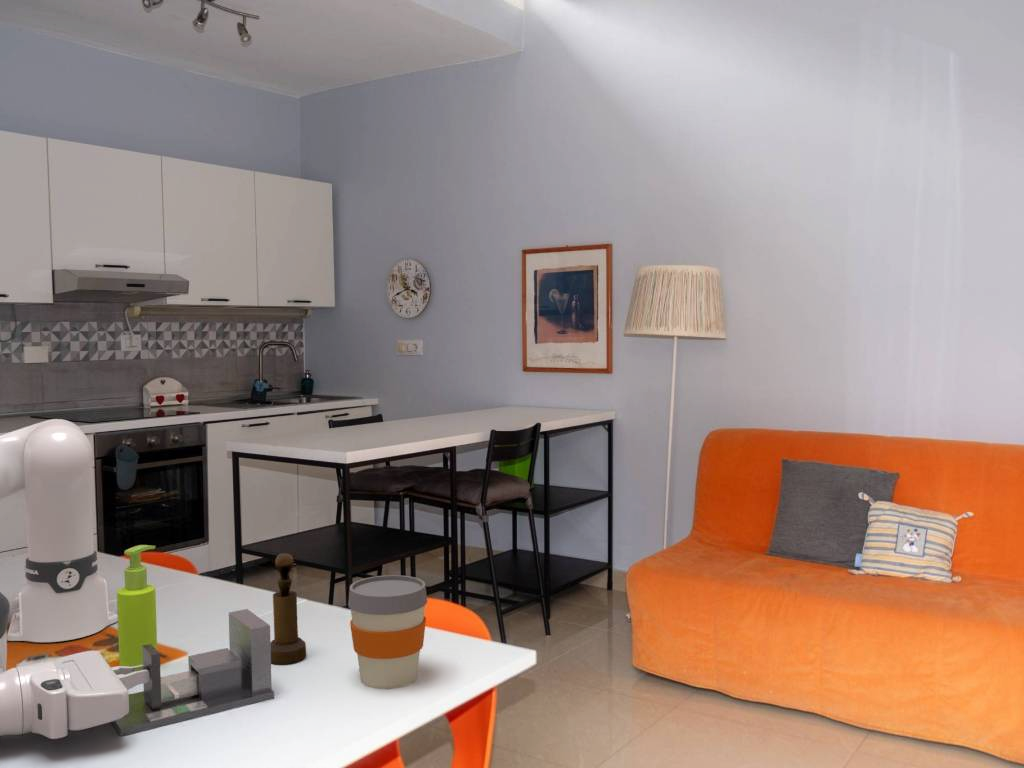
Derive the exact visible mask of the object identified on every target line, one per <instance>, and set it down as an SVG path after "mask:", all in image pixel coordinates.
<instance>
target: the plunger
mask: <svg viewBox="0 0 1024 768" xmlns="http://www.w3.org/2000/svg"><path fill="white" fill-rule="evenodd" d="M142 652H143V665H144V666H145V668H146V669H147V670H148V671H149V673H150V680H149V682H147V683H143V691H144V699H145V700H146V701H147V702H148V704H149V705H150V706H151V708H152V709H157V708H161V707H162V706H161V703H164V702H168V701H172V700H176V699H181V698H185V697H189V696H193V695H198V694H199V673H198V672H197V671H196V670H191V671H189V670H187V671H184V672H178V673H174V674H171V675H170V674H169V675H164V676H162V677H161V654H160V652H159V651H158V649H157V650H156V649H155V648H154V647H153V646H152V645H151V644H147V645H142Z"/></svg>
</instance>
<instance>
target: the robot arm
mask: <svg viewBox="0 0 1024 768" xmlns="http://www.w3.org/2000/svg"><path fill="white" fill-rule="evenodd" d="M93 454H94V453H93V446H92V444H91V442H90V440H89V438H88V437H87V435H86V434H85V433H84V431H83V430H82V428H80V427H79V426H78V425H77V424H75V423H74V422H73V421H69V420H66V419H62V418H59V419H58V418H51V419H46V420H44V421H40V422H37V423H34V424H31V425H28V426H24V427H21V428H19V429H16V430H13V431H10V432H7V433H5V434H2V435H1V434H0V502H2V501H4V500H6V499H8V498H11V497H13V496H15V495H17V494H19V493H22V492H24V491H25V492H24V493H25V496H24V497H25V517H26V535H27V536H26V541H27V543H26V544H27V558H26V559H25V565H24V571H25V579H26V581H25V583H24V584H23V587H22V588H21V589H20V590H21V591H20V592H19V593H18V595H13V596H12V599H11V600H12V601H11V602H12V603H11V604H12V609H13V610H17V609H18V611H16V612H15V613H14V612H13V614H12V616H11V620H10V623H9V618H10V617H9V616H10V602H9V599H8V597H6V596H5V595H4V594H3V593H2V592H0V737H1V736H8V735H9V736H10V735H11V736H18V735H22V734H23V735H24V734H27V733H33V734H39V735H42V736H43V737H46V738H48V739H51V740H56V739H61V738H64V737H66V736H68V734H69V732H68V730H69V731H80V730H87V729H90V728H93V727H97V726H98V727H99V726H102V725H105V724H108V723H112V721H115V720H118V719H120V718H122V717H124V716H125V715H127V714H128V713H129V694H130V693H129V690H131V689H133V688H134V687H136V686H138V685H142V684H143V685H144V683H147V682H149V680H150V673H149V671H148V670H147V669H146V668H145V666H144V665H138V666H133V667H129V666H119V665H117V666H112V667H111V666H110V664H109V663H108V662H107V660H106V659H105V658H104V656H103V655H102V653H101V652H100V651H99V650H85V651H81V652H76V653H73V654H70V655H69V654H68V655H64V656H61V657H60V656H59V657H57V658H54V659H52V660H46V661H41V662H37V663H31V664H25V665H20V666H15V667H12V668H9V669H7V658H8V657H7V656H8V645H7V644H8V643H7V642H8V641H9V642H21V641H22V642H23V641H24V642H31V643H56V642H65V641H70V640H71V641H72V640H76V639H77V640H78V639H80V638H85V637H87V636H88V637H89V636H90V635H94V634H96V633H98V632H100V631H102V630H104V629H105V628H106V627H108V626H110V625H112V624H115V623H118V614H116V613H114V612H112V611H110V609H109V596H108V595H109V594H108V584H107V580H106V579H104V578H103V576H100V575H99V574H98V573H97V571H98V569H99V568H98V563H99V559H98V554H97V551H96V550H95V539H94V538H95V537H94V536H95V535H94V512H93V511H94V509H93V508H94V459H93V457H94V456H93ZM8 627H9V628H8ZM7 629H8V630H7Z"/></svg>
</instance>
